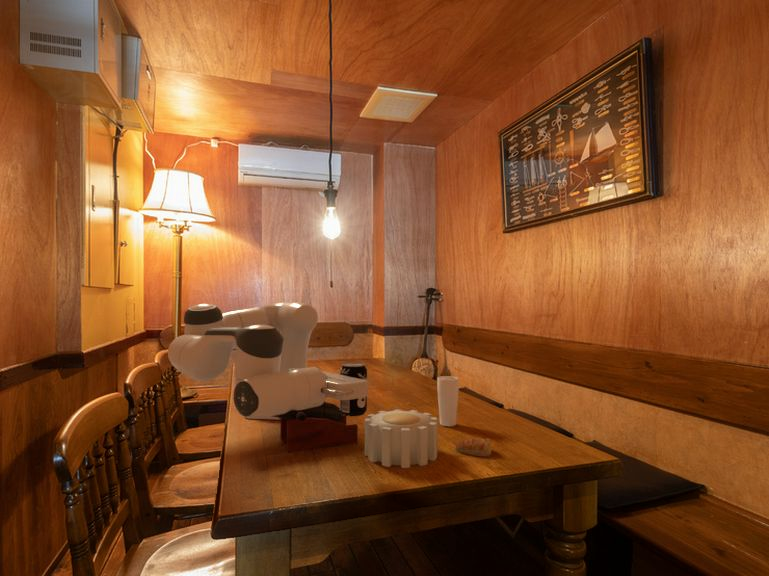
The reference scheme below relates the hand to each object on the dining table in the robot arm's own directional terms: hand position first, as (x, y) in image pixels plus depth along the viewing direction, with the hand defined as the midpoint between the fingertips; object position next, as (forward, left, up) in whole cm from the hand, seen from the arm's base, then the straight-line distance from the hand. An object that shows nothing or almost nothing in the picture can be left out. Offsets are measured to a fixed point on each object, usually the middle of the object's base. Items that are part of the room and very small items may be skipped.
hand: (356, 379), depth 107 cm
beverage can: (-1, -1, -8) cm, 8 cm away
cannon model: (-15, +17, -21) cm, 31 cm away
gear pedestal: (+12, +7, -21) cm, 25 cm away
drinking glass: (+30, +31, -21) cm, 48 cm away
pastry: (+32, +7, -21) cm, 39 cm away
